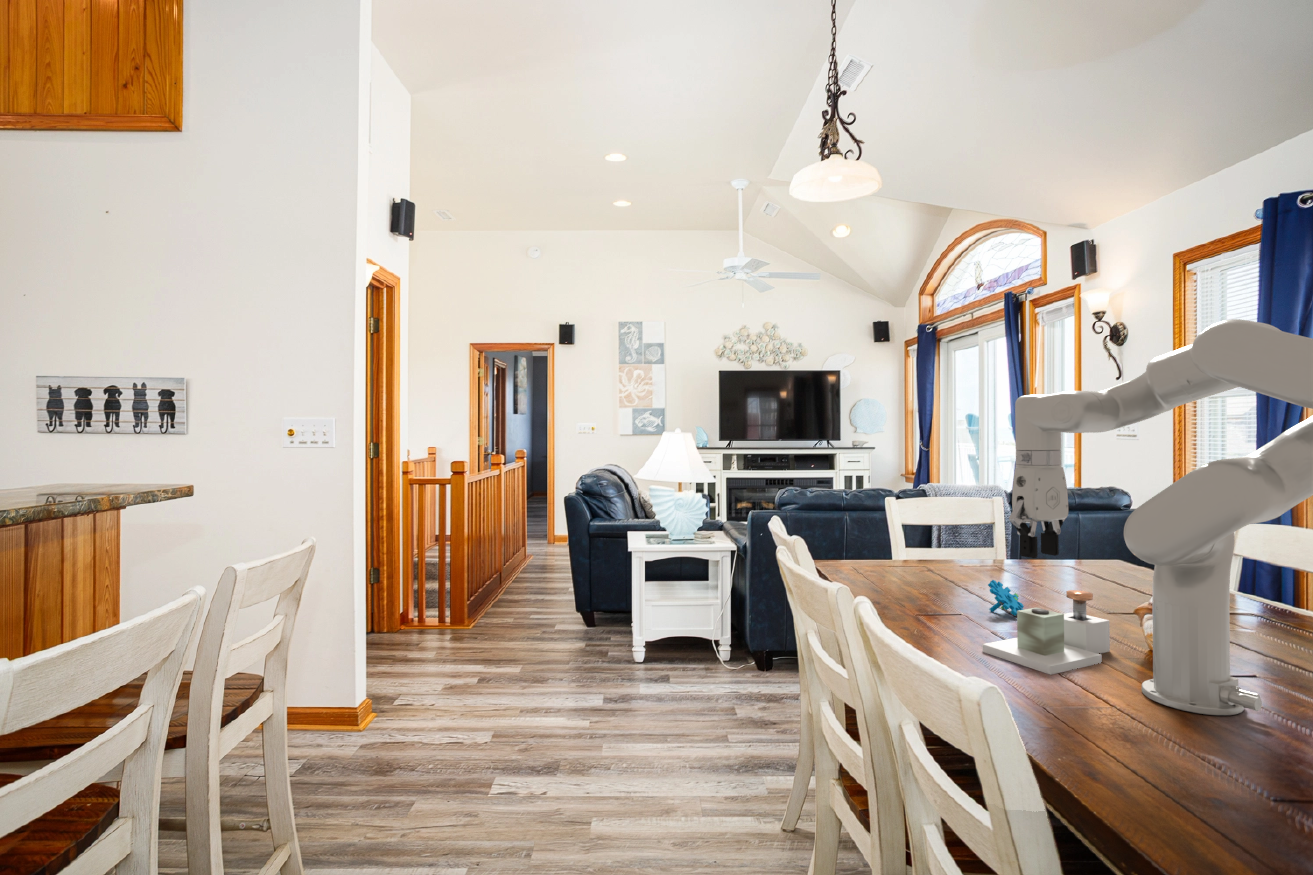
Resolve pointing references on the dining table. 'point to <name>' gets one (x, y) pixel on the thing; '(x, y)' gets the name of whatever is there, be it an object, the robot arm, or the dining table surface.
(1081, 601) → the press pin
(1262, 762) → the dining table surface
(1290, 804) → the dining table surface
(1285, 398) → the robot arm
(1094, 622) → the press bed
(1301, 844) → the dining table surface
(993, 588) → the gear
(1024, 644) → the block
